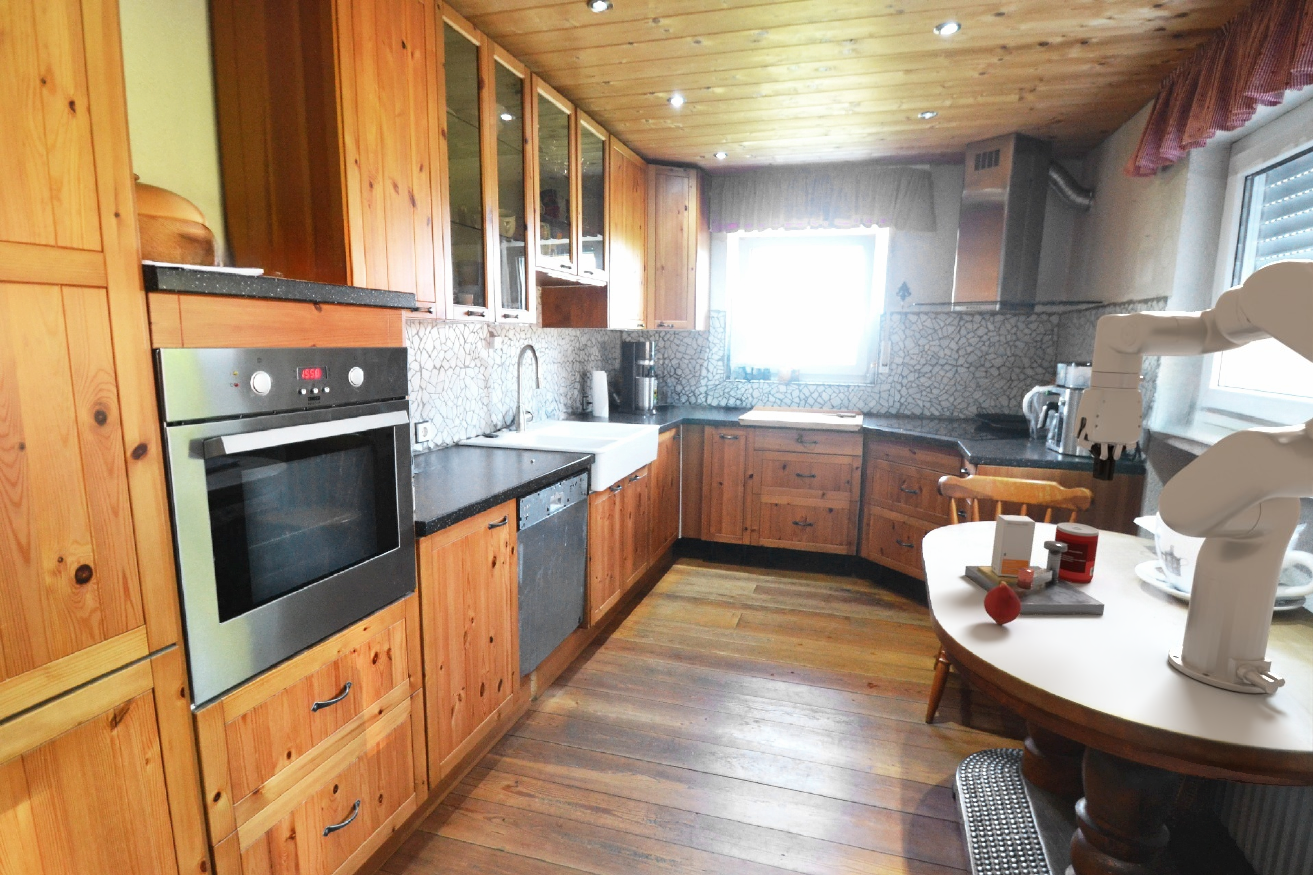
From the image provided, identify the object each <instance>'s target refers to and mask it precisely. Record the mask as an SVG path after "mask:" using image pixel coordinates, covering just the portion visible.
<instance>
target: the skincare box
mask: <svg viewBox="0 0 1313 875" xmlns="http://www.w3.org/2000/svg"><path fill="white" fill-rule="evenodd" d="M1035 529H1036V521H1035V520H1033V519H1032V518H1030V517H1029V516H1027V515H1026V516H1025V515H1016V514H1014V515H1013V514H1009V515H1007V514H997V515H996V523H995V530H994V538H993V546H992V547H993V548H992V555H991V564H990V566H991V569H992V570H993V571H994V572H995V573H996V574H997V575H998V576H1010V577H1018V572H1019V568H1021V567H1024V568H1030V566H1031V560H1032V551H1033V545H1034V544H1033V542H1034V537H1035V536H1034V535H1035Z"/></svg>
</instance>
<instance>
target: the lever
mask: <svg viewBox="0 0 1313 875" xmlns="http://www.w3.org/2000/svg"><path fill="white" fill-rule="evenodd" d="M1051 578H1052V570H1049V569H1046V568H1045V567H1042V569H1040V570H1037V571H1034V570H1032V569H1030V568H1024V567H1021V568H1019V572H1018V581H1017V587H1019V588H1021V589H1026V590H1031V589H1032V587H1034V586H1037V585H1040V584H1042V583H1045V582H1048V581H1050V580H1051Z"/></svg>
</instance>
